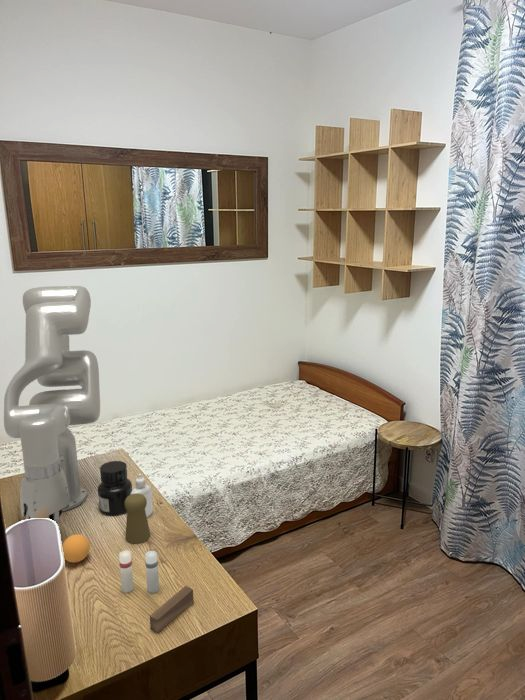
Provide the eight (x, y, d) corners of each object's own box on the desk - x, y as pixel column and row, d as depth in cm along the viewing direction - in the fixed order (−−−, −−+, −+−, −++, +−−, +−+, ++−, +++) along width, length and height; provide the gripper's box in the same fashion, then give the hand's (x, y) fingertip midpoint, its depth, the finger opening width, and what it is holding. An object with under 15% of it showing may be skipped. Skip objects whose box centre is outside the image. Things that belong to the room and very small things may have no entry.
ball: (57, 561, 119) (54, 538, 117) (79, 548, 123) (77, 526, 122) (73, 571, 115) (71, 548, 114) (96, 557, 120) (94, 534, 119)
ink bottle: (100, 499, 144) (97, 460, 141) (133, 495, 146) (130, 456, 143) (98, 519, 135) (94, 477, 132) (133, 514, 137) (130, 473, 134)
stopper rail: (150, 628, 99) (149, 615, 99) (186, 597, 107) (185, 585, 107) (157, 633, 98) (157, 620, 98) (193, 601, 106) (193, 589, 106)
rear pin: (144, 590, 110) (142, 555, 107) (153, 583, 112) (151, 548, 109) (153, 595, 108) (150, 559, 106) (161, 588, 110) (159, 553, 108)
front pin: (119, 590, 110) (116, 554, 108) (128, 583, 112) (125, 548, 110) (127, 594, 108) (124, 559, 106) (136, 587, 110) (133, 553, 108)
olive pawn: (144, 545, 124) (141, 504, 122) (120, 542, 126) (117, 501, 123) (154, 531, 130) (152, 491, 127) (131, 528, 131) (129, 488, 129)
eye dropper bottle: (154, 518, 136) (152, 476, 133) (132, 522, 134) (129, 480, 131) (151, 509, 140) (149, 468, 137) (130, 513, 138) (127, 472, 135)
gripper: (61, 452, 127) (68, 520, 132) (1, 476, 115) (11, 550, 120) (80, 460, 123) (87, 529, 127) (21, 485, 111) (30, 561, 115)
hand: (50, 539), depth 124 cm, fingers closed
